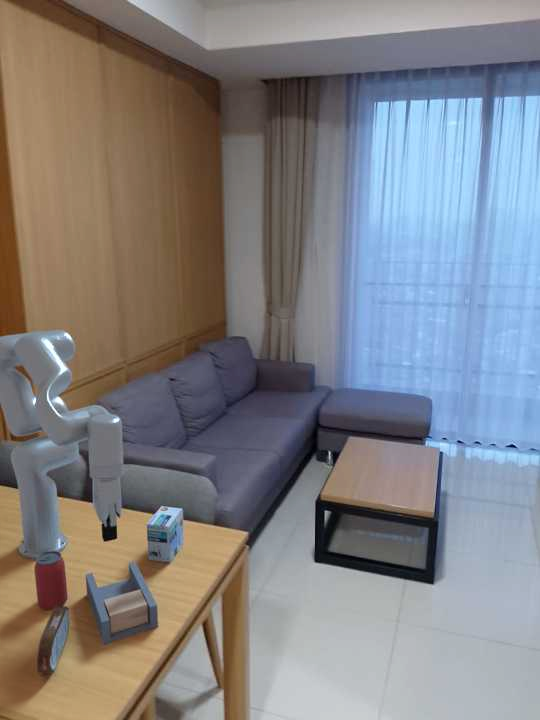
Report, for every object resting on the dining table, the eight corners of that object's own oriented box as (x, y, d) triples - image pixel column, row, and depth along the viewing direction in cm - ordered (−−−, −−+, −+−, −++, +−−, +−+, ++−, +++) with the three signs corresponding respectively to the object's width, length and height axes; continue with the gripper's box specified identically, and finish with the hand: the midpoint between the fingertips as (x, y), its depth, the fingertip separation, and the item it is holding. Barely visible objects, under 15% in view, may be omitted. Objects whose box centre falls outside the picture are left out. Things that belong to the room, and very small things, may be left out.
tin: (58, 630, 124) (55, 597, 122) (73, 629, 124) (70, 596, 122) (36, 683, 109) (33, 647, 107) (53, 683, 110) (49, 646, 108)
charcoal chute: (87, 594, 136) (85, 574, 135) (136, 580, 141) (135, 561, 140) (103, 644, 120) (101, 622, 118) (158, 626, 125) (157, 605, 124)
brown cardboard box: (105, 617, 126) (103, 599, 125) (141, 606, 130) (140, 589, 129) (111, 633, 121) (109, 615, 120) (148, 622, 125) (147, 604, 124)
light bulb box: (171, 563, 149) (169, 527, 146) (147, 560, 150) (145, 524, 148) (184, 542, 159) (183, 507, 157) (162, 539, 160) (161, 505, 158)
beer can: (37, 597, 135) (33, 553, 132) (66, 590, 137) (62, 547, 135) (38, 614, 129) (33, 568, 126) (68, 607, 131) (64, 561, 129)
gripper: (83, 458, 133) (87, 527, 137) (96, 484, 120) (100, 559, 125) (115, 452, 136) (118, 520, 141) (131, 478, 124) (133, 551, 128)
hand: (109, 538), depth 133 cm, fingers closed
